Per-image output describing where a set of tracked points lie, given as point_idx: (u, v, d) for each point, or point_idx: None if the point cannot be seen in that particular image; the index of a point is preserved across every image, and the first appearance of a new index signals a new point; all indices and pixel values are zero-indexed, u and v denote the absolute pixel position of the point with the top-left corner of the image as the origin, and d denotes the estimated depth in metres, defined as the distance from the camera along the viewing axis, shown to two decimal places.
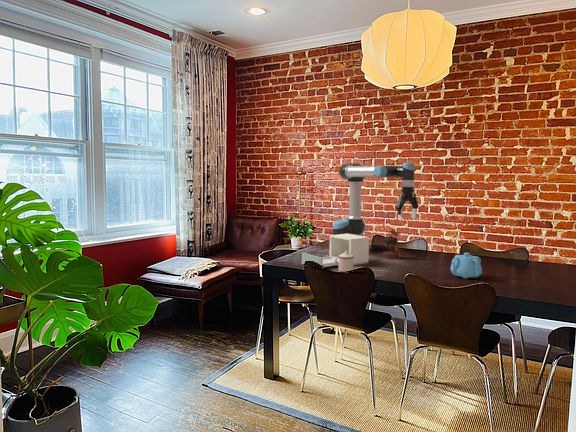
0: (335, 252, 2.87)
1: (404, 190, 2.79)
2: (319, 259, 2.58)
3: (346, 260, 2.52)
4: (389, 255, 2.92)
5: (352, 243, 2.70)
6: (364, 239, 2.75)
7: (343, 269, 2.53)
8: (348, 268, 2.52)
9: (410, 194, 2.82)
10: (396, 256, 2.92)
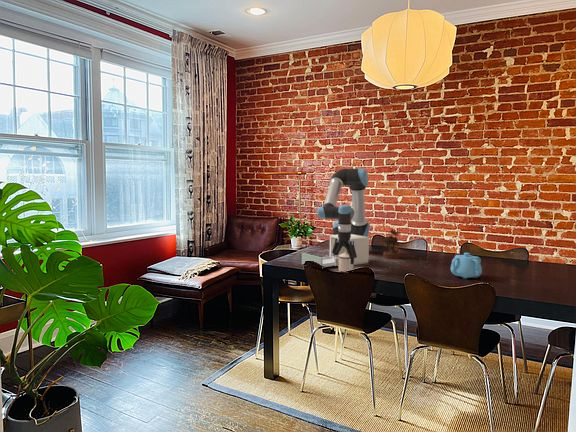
0: None
1: None
2: (319, 259, 2.58)
3: (346, 260, 2.52)
4: (389, 255, 2.92)
5: None
6: (364, 239, 2.75)
7: (343, 269, 2.53)
8: (348, 268, 2.52)
9: (344, 240, 2.54)
10: (396, 256, 2.92)
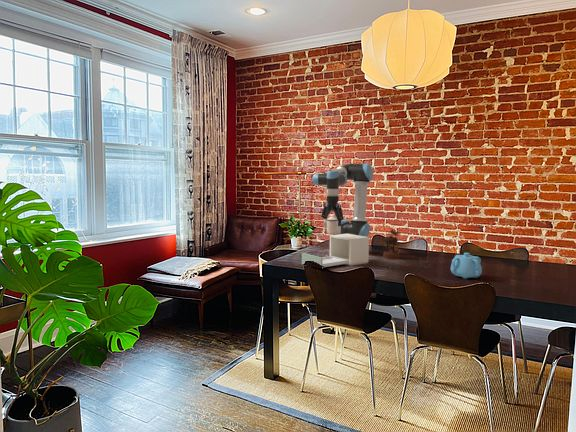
0: (335, 252, 2.87)
1: None
2: (319, 259, 2.58)
3: (334, 222, 2.67)
4: (389, 255, 2.92)
5: (352, 243, 2.70)
6: (364, 239, 2.75)
7: (331, 231, 2.67)
8: (336, 230, 2.67)
9: (332, 203, 2.69)
10: (396, 256, 2.92)
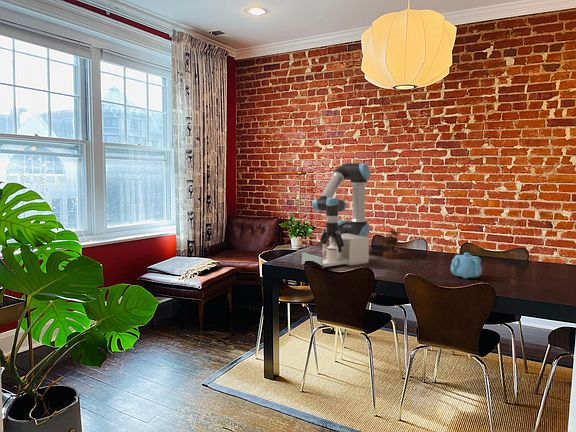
0: None
1: None
2: (319, 259, 2.58)
3: (333, 251, 2.68)
4: (389, 255, 2.92)
5: (352, 243, 2.70)
6: (364, 239, 2.75)
7: (331, 260, 2.69)
8: (335, 259, 2.69)
9: (332, 230, 2.70)
10: (396, 256, 2.92)
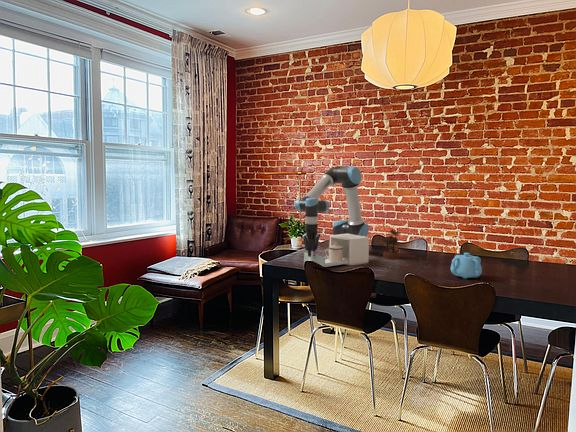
0: None
1: None
2: (321, 259, 2.59)
3: (336, 251, 2.69)
4: (389, 255, 2.92)
5: (352, 243, 2.70)
6: (364, 239, 2.75)
7: (333, 259, 2.70)
8: (338, 258, 2.70)
9: (315, 230, 2.63)
10: (396, 256, 2.92)
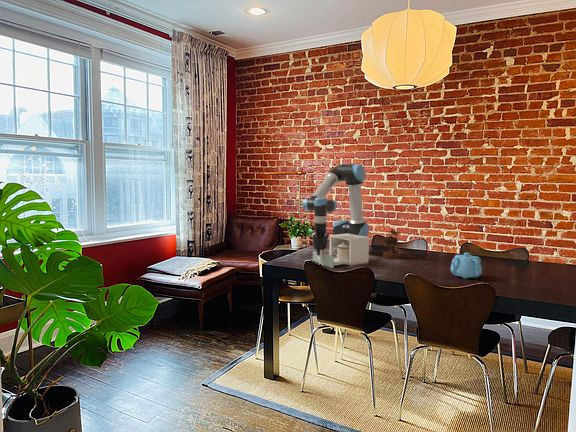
0: (335, 252, 2.87)
1: None
2: (330, 257, 2.63)
3: (344, 250, 2.73)
4: (389, 255, 2.92)
5: (352, 243, 2.70)
6: (364, 239, 2.75)
7: (341, 258, 2.74)
8: (346, 257, 2.74)
9: (324, 229, 2.67)
10: (396, 256, 2.92)
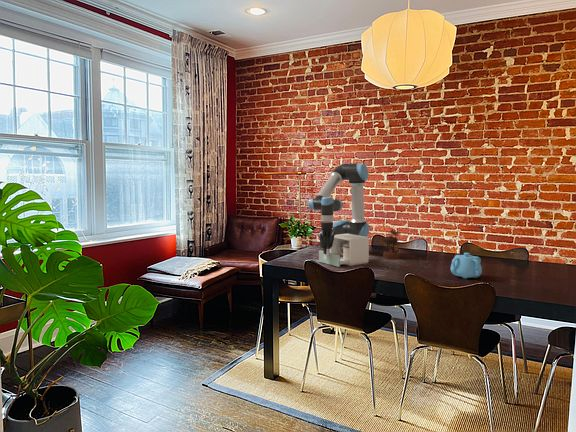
0: (335, 252, 2.87)
1: None
2: (337, 256, 2.66)
3: None
4: (389, 255, 2.92)
5: (352, 243, 2.70)
6: (364, 239, 2.75)
7: (347, 257, 2.77)
8: None
9: (330, 228, 2.70)
10: (396, 256, 2.92)
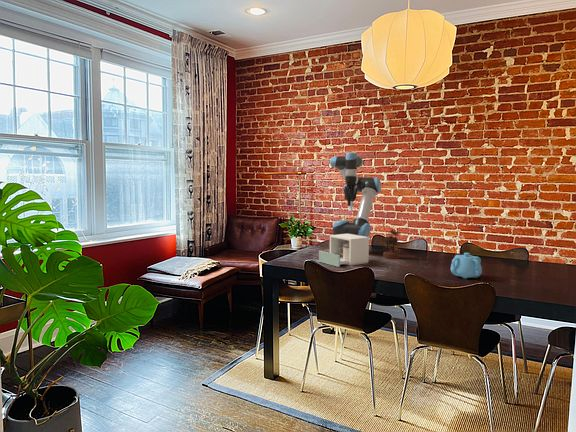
0: (335, 252, 2.87)
1: None
2: (337, 256, 2.66)
3: None
4: (389, 255, 2.92)
5: (352, 243, 2.70)
6: (364, 239, 2.75)
7: (347, 257, 2.77)
8: None
9: (354, 182, 2.92)
10: (396, 256, 2.92)
